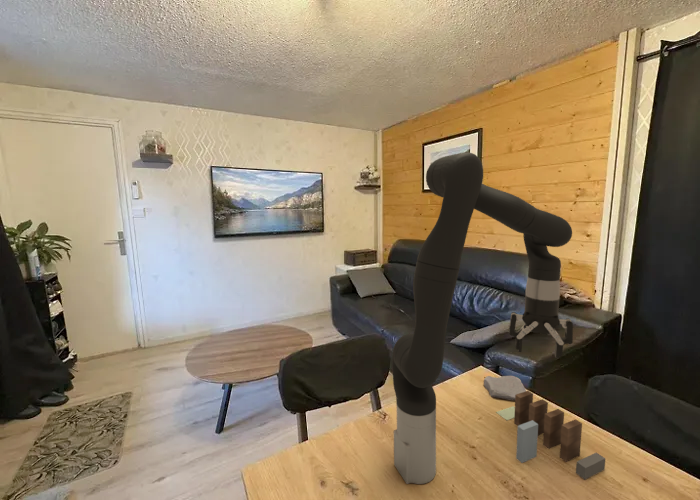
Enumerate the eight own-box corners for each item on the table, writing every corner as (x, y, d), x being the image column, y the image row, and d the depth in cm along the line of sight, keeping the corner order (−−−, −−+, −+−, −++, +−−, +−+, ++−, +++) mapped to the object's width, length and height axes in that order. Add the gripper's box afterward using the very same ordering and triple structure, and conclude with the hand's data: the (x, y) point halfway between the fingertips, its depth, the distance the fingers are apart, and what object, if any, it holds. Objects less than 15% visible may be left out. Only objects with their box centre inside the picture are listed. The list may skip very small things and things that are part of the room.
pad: (506, 420, 92) (506, 420, 92) (496, 412, 96) (496, 412, 96) (524, 414, 95) (524, 413, 95) (513, 406, 98) (513, 406, 98)
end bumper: (584, 479, 72) (585, 468, 72) (575, 473, 74) (576, 461, 73) (604, 469, 74) (605, 458, 74) (595, 463, 76) (596, 452, 76)
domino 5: (565, 462, 77) (568, 428, 76) (559, 457, 78) (561, 424, 77) (579, 455, 79) (582, 423, 77) (573, 451, 80) (575, 419, 79)
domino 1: (518, 426, 90) (520, 397, 88) (514, 423, 91) (515, 394, 90) (531, 422, 91) (533, 393, 90) (526, 418, 93) (528, 390, 91)
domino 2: (521, 463, 77) (523, 430, 76) (516, 458, 79) (517, 425, 77) (536, 456, 79) (538, 424, 78) (530, 452, 80) (532, 420, 79)
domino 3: (533, 437, 85) (534, 407, 84) (527, 433, 87) (529, 403, 86) (546, 432, 87) (547, 402, 86) (540, 428, 89) (542, 399, 87)
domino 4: (548, 449, 81) (550, 417, 80) (542, 445, 83) (544, 413, 81) (562, 443, 83) (564, 412, 82) (556, 439, 84) (558, 408, 83)
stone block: (530, 406, 101) (517, 383, 110) (531, 395, 99) (518, 372, 109) (491, 406, 102) (482, 384, 112) (492, 395, 101) (482, 373, 110)
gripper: (512, 295, 81) (508, 355, 83) (578, 302, 75) (573, 365, 77) (510, 289, 88) (507, 343, 90) (571, 294, 82) (566, 352, 84)
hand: (537, 353), depth 84 cm, fingers open, 8 cm apart
